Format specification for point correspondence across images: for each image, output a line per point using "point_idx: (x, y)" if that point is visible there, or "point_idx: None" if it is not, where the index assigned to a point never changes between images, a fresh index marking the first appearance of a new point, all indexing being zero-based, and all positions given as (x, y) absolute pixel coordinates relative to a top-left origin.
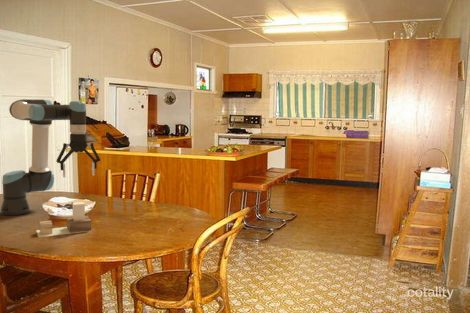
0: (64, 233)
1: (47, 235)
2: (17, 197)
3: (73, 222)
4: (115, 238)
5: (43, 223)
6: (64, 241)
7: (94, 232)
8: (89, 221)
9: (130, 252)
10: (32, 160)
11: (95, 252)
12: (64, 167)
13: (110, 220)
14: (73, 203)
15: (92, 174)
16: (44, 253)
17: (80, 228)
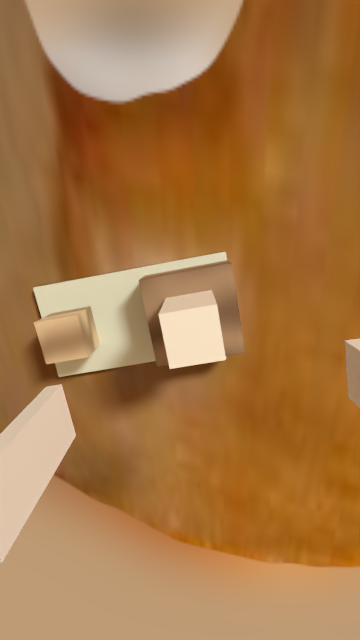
0: (142, 354)
1: (86, 364)
2: None
3: None
4: (315, 424)
5: (54, 353)
6: (149, 415)
7: (248, 339)
8: (237, 352)
9: (338, 551)
10: None
11: (243, 528)
12: (20, 518)
13: (330, 169)
14: (165, 334)
15: (351, 372)
16: (105, 503)
17: None
